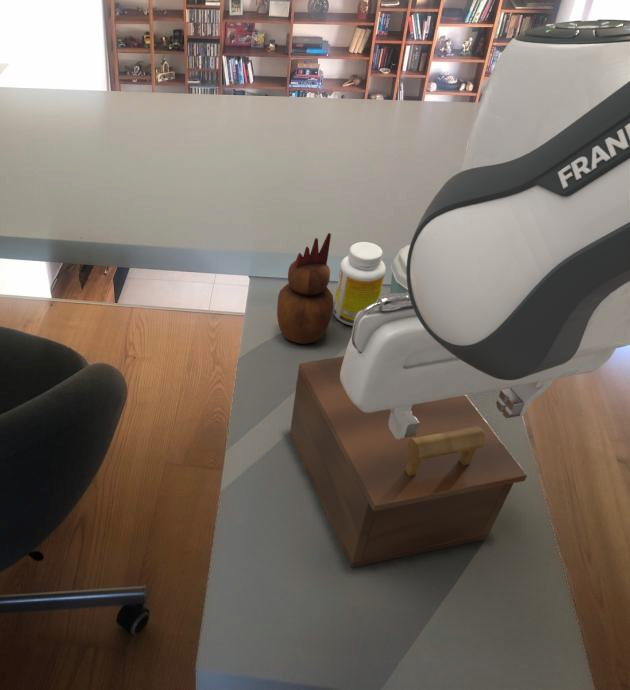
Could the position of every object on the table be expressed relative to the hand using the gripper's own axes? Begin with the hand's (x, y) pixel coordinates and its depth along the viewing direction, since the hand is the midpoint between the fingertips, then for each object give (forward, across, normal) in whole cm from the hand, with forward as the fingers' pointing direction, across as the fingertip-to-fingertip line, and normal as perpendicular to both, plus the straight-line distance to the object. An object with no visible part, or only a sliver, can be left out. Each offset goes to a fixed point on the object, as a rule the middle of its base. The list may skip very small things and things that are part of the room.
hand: (455, 421), depth 55 cm
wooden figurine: (+16, 0, +32) cm, 36 cm away
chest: (+16, 0, +7) cm, 18 cm away
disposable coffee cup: (+16, +12, +24) cm, 32 cm away
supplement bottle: (+16, +9, +34) cm, 39 cm away
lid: (+7, 0, +7) cm, 9 cm away
